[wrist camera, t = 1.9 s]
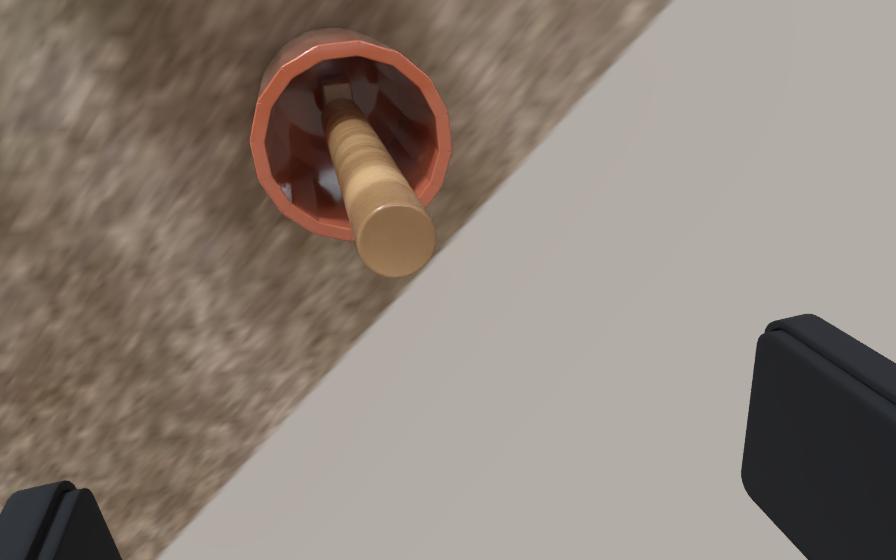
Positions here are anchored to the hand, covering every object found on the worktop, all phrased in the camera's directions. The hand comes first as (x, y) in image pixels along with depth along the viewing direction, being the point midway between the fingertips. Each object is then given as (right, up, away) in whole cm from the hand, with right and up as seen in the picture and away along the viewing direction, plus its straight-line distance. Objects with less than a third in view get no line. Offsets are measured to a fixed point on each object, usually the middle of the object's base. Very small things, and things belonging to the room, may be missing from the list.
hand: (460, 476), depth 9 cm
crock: (-6, +11, +22) cm, 25 cm away
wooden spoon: (-5, +11, +21) cm, 24 cm away
